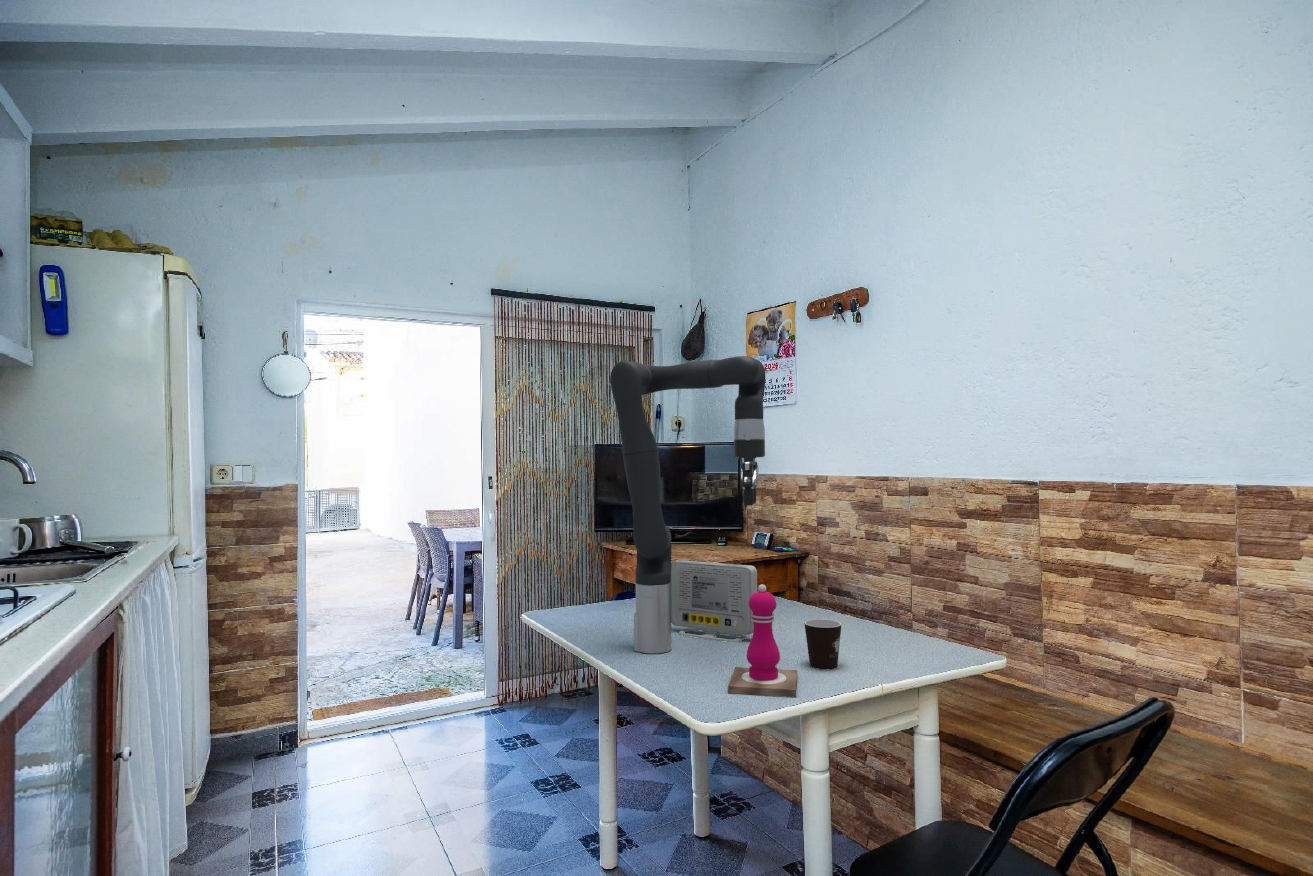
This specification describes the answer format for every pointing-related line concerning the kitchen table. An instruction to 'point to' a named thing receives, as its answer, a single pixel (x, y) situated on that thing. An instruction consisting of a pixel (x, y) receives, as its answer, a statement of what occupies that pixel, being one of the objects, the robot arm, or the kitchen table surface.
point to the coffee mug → (823, 642)
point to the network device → (712, 598)
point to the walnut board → (763, 683)
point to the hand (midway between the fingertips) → (750, 504)
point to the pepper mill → (763, 637)
